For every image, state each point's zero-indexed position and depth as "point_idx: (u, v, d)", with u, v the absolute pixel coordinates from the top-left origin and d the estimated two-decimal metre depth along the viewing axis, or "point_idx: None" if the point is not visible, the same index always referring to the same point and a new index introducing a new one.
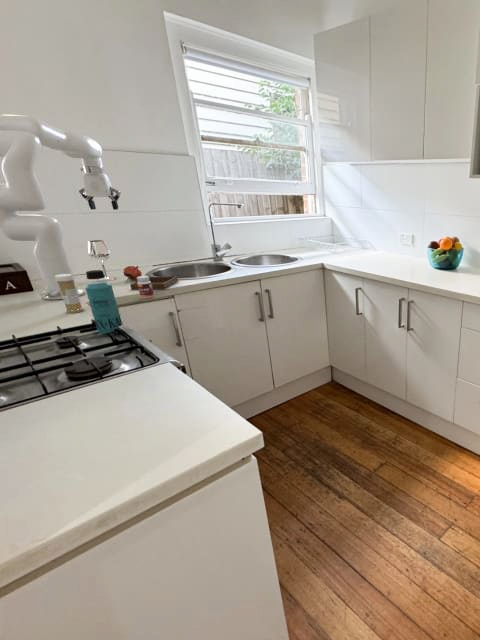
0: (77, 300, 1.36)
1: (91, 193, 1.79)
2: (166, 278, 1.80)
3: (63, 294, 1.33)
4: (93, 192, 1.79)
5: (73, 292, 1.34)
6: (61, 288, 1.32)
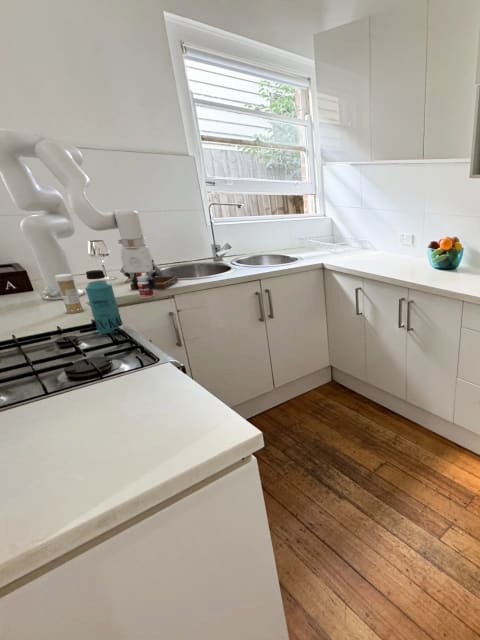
0: (77, 300, 1.36)
1: (130, 269, 1.49)
2: (166, 278, 1.80)
3: (63, 294, 1.33)
4: (132, 268, 1.49)
5: (73, 292, 1.34)
6: (61, 288, 1.32)
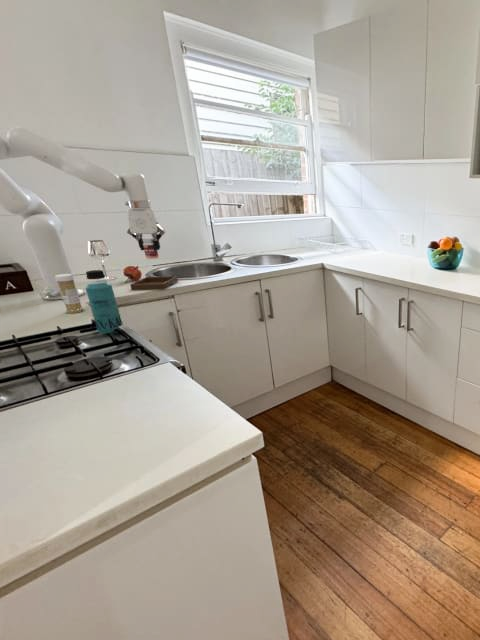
0: (77, 300, 1.36)
1: (136, 230, 1.59)
2: (166, 278, 1.80)
3: (63, 294, 1.33)
4: (138, 229, 1.59)
5: (73, 292, 1.34)
6: (61, 288, 1.32)
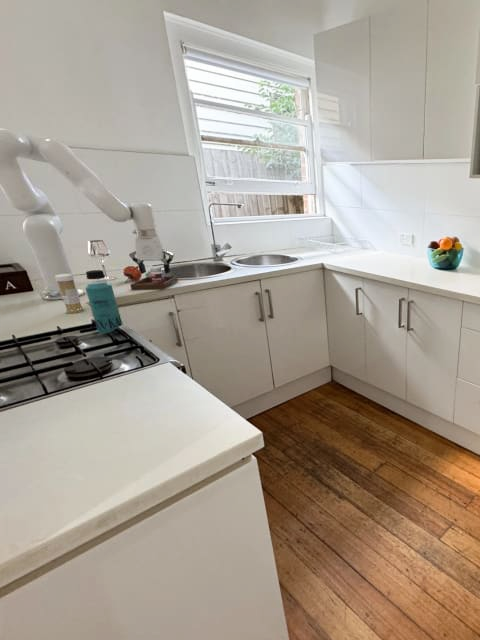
0: (77, 300, 1.36)
1: (143, 257, 1.64)
2: (166, 278, 1.80)
3: (63, 294, 1.33)
4: (145, 256, 1.64)
5: (73, 292, 1.34)
6: (61, 288, 1.32)
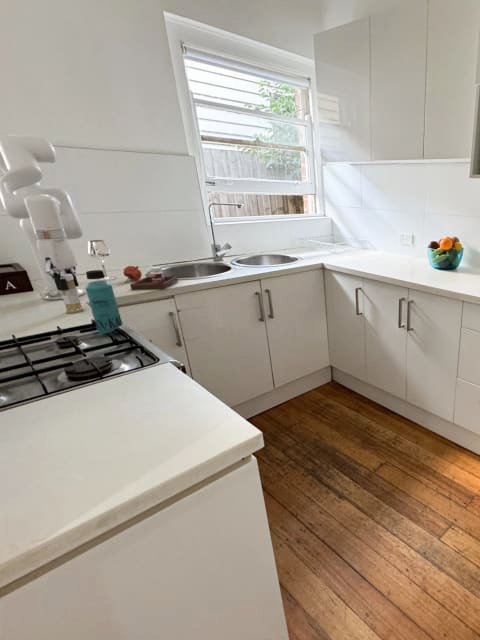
0: (77, 300, 1.36)
1: None
2: (166, 278, 1.80)
3: (63, 294, 1.33)
4: None
5: (73, 292, 1.34)
6: None
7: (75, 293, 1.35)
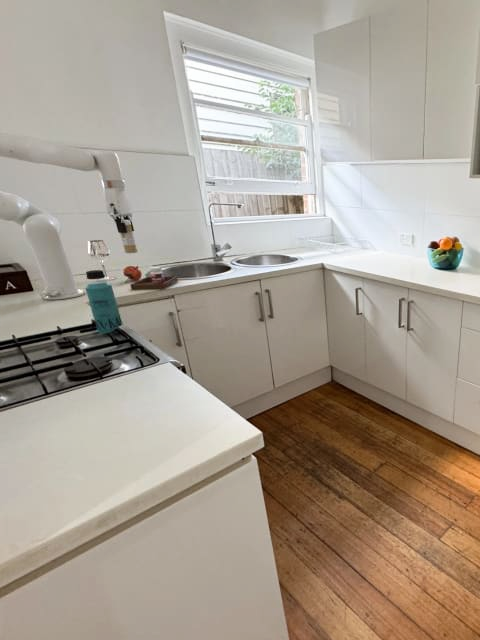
0: (133, 242, 1.62)
1: None
2: (166, 278, 1.80)
3: (123, 236, 1.59)
4: None
5: (130, 235, 1.60)
6: None
7: (132, 236, 1.61)
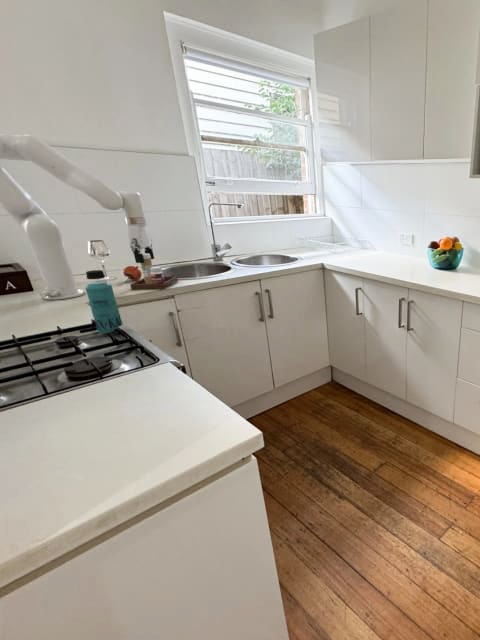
0: None
1: None
2: (166, 278, 1.80)
3: (143, 269, 1.72)
4: None
5: None
6: (142, 264, 1.71)
7: None
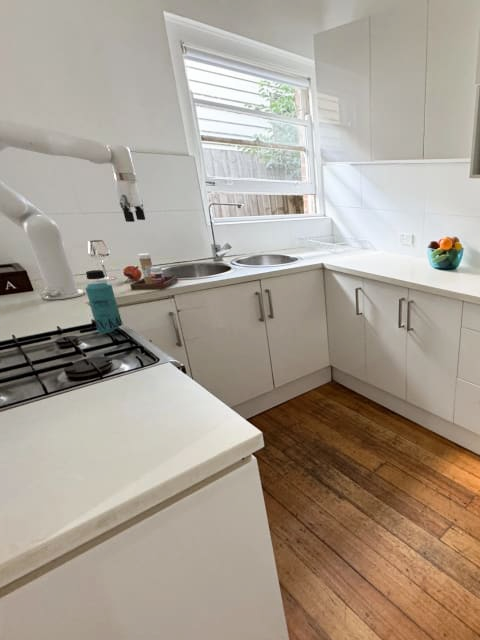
0: None
1: None
2: (166, 278, 1.80)
3: (143, 269, 1.72)
4: None
5: None
6: (142, 264, 1.71)
7: None
